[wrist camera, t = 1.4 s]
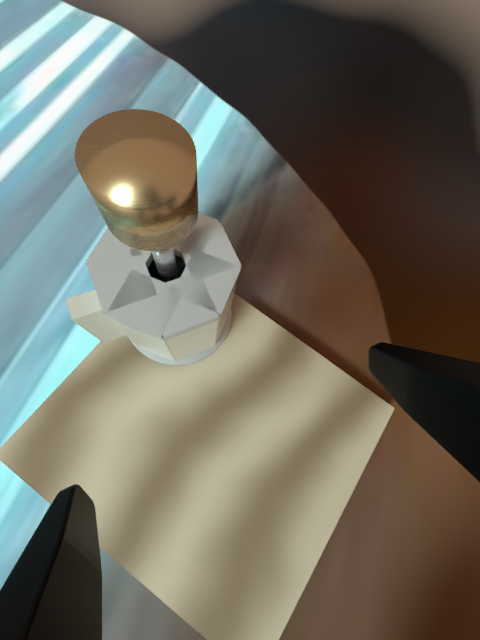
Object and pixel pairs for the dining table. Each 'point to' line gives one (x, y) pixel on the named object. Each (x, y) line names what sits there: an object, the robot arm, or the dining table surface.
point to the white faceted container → (162, 296)
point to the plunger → (143, 183)
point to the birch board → (209, 467)
